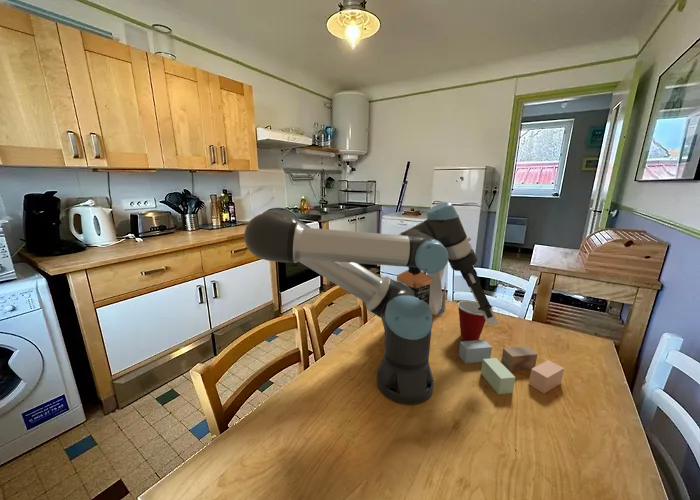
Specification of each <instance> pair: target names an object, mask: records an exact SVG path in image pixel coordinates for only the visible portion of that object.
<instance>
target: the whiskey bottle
mask: <svg viewBox="0 0 700 500" xmlns="http://www.w3.org/2000/svg"><path fill="white" fill-rule="evenodd" d="M407 268H408V269H407V270H405V271H403V272H401V273H399V274H397V275H396V281H399V282H402V283H404V284H405V285H407V286H408V287H409V288H410V289H411V291H412V292H413V293H414V295H415V297H417V298H419V300H423V301H425V302H426V303H427V304H428V305H429V297H430V284H431V282H432V279H431V277H430V276H428V275H427V273H425V272H423V271H421V270H420V269H419V268H415V267H407Z"/></svg>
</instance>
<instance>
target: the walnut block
mask: <svg viewBox="0 0 700 500" xmlns="http://www.w3.org/2000/svg"><path fill="white" fill-rule="evenodd" d="M537 358H538V353H537V352H535V351H534V350H533V349H532V348H530V347H529V346H528V345H527V346H516V347H504V348H503V349H502V355H501V360H500V362H501V363H502V364H503V365H504V366H505V367H506V368H507V369H508V370H509V371H510V372H515V371H524V370H525V371H526V370H531V369H532V368H534V367H536V366H537Z"/></svg>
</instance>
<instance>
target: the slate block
mask: <svg viewBox="0 0 700 500" xmlns="http://www.w3.org/2000/svg"><path fill="white" fill-rule="evenodd" d="M492 349H493V346H491V345H490V343H488V342H487V341H486V339H478V340H474V341H466V340H464V341H460V342H459V349H458V350H459V351H458V357H460V359H462V361H463V363H464V364H472V363H482V362H483V359H489V358H492V357H491V356H492Z"/></svg>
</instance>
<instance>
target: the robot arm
mask: <svg viewBox="0 0 700 500" xmlns="http://www.w3.org/2000/svg"><path fill="white" fill-rule="evenodd" d="M425 216H426V219H425V220H424V221H421V222H420V223H417V224H416V225H414V226H412V227H411V228H409V229H407V230H405V231H401V232H400V233H399V234H391V233H390V234H389V233H388V234H387V233H377V232H366V231H352V230H341V229H340V230H339V229H330V228H329V229H326V228H316V227H315V228H314V227H313V228H312V227H311V226H309V225H308V224H306V223H305V222H304V221H302V220H301V219H300V218H299V216H297V214H296V213H295V212H293V211H292V210H290V209H288V208H285V207H272V208H269V209H267V210H265V211H264V212H262V213H259V214H258V215H255V216H254V217H253V218H251V219H250V221H249V222H248V223H247V224H246V226H245V229H244V237H243V238H244V243H245V245H246V247H247V249H248V250H249V252H250V253H251V254H252V255H253V256H255V257H257V258H258V259H261V260H264V261H267V262H277V263H278V262H279V263H291V264H294V263H295V264H296V263H298V262H299V263H301V264H302V265H304V266H306V267H307V268H309V269H310V270H312V271H314V272H316V274H319V275H320V276H321V277H324V278H325V279H326V280H328V281H330V282H332V283H333V284H335V285H336V286H338V287H339V288H341V289H343V290H344V291H346V292H348V293H350V294H351V295H353V296H355V298H357V299H360V300H361V301H363V302H364V303H365V307H366V310H368V311H369V312H371V313H372V314H374V315H375V316H376V317H379V318H380V319H381V321H382V325H383V330H384V349H383V350H384V351H383V353H384V354H383V357H382V359H381V362H380V364H379V367H378V369H377V372H376V384H377V388H378V389H379V391H380V392H381V393H382V394H383V395H384V397H386V398H387V399H389V400H391V401H393V402H395V403H398V404H403V405H417V404H421V403H424V402H425V401H427V400H428V399H429V398H431V396H432V395H433V393H434V392H433V391H434V384H435V382H434V380H435V379H434V376H433V372H432V369H431V365H430V362H429V358H430V350H431V348H430V347H431V339H432V329H433V322H434V321H433V315H432V311H431V308H430V307H429V305H428V304H427V303H426V302H425V301H423V300H419V298H417V297H415V295H414V293H413V292H412V291H411V289H410V288H409V287H408V286H407V285H405V284H404V283H402V282H399V281H397V280H394V279H392V278H390V277H389V276H383V277H379V276H378V275H377V274H374V273H373V272H372V271H370V270H369V269H367V268H366V267H365V266H362V265H361V264H363V265H364V264H365V265H376V266H377V265H378V266H388V267H389V266H391V267H405V268H406V267H407V268H408V267H415V268H419V269H420V270H421V271H422V272H423V273H425V274H427V273H429V274H434V273H437V272H439V271H441V270H442V269H443V268H444V267H445V268H446V266H447V264H448V263H449V265H450V268H451V270H453V271H456V272H460V273H461V277H462V278H463V279H464V280H465V282H466V285H467V287H468V288H469V289H470V291H471V293H472V296H473V297H474V300H475V302H477V303H479V305H480V308H478V310H481V311H482V313H483V315H484V318H485V320H486V321H485V323H486V324H487V326H488V327H492V326H495V325H497V324H498V325H499V321H498V320H497V318H496V315H495V312H494V310H493V309H492V305H491V304H490V302H489V300H488V298H487V296H486V293H485V291H484V289H483V287H482V286H481V281H480V278H479V277H478V272H477V270H476V269H475V267H474V266H475V265H476V264H477V262H478V258H477V255H476V253H475V250H474V249H473V246H472V244H471V242H470V241H471V240H472V239H471V237H468V235H467V233H466V231H465V228H464V226H463V223H462V221H461V219H460V215H459V214H458V212H457V210H456V208H455V206H454V205H453V204H452V203H451V202H449V201H446V202H445V201H444V202H440V203H438V204H436V205H433V206H432V207H431V208H429V209H428V210H427V211H426V215H425Z"/></svg>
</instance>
